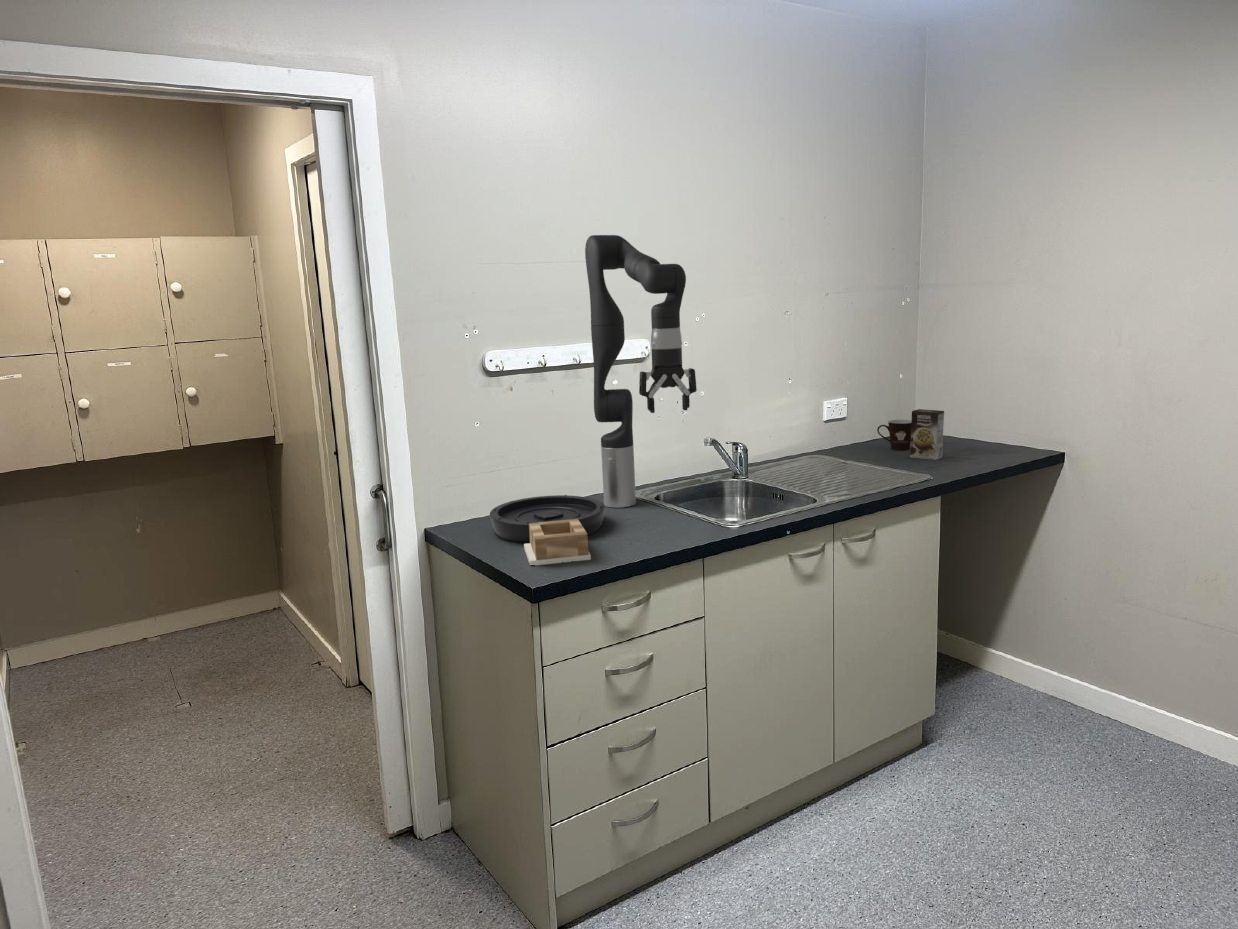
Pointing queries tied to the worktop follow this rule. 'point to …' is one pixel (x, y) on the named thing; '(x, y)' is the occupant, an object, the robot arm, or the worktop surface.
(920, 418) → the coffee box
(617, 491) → the robot arm
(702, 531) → the worktop surface
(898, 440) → the coffee mug
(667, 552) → the worktop surface
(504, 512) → the round tray
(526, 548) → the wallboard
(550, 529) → the frame
